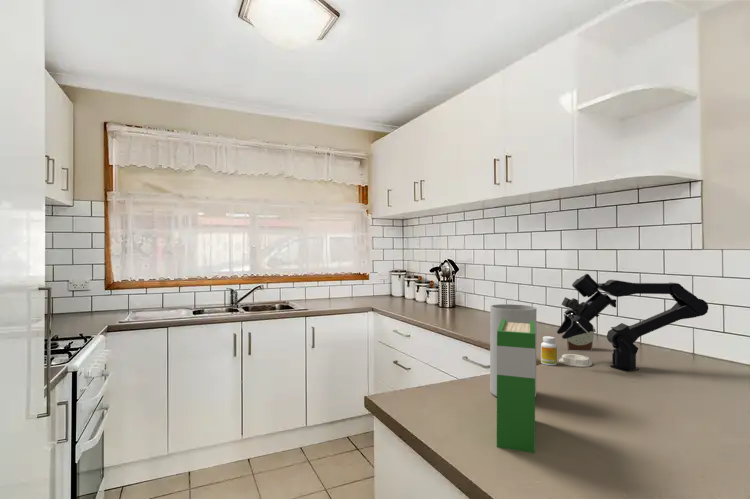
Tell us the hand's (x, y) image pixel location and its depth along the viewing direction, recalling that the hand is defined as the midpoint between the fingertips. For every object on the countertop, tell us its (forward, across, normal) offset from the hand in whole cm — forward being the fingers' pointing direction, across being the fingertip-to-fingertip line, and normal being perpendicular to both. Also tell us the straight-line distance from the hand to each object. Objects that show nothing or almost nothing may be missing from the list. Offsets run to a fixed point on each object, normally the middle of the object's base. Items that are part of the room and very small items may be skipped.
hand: (560, 335), depth 151 cm
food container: (-1, -28, +16) cm, 33 cm away
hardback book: (+23, +65, -7) cm, 69 cm away
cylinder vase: (+22, +38, -6) cm, 45 cm away
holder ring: (+3, -4, +12) cm, 13 cm away
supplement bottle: (+10, 0, +5) cm, 11 cm away
